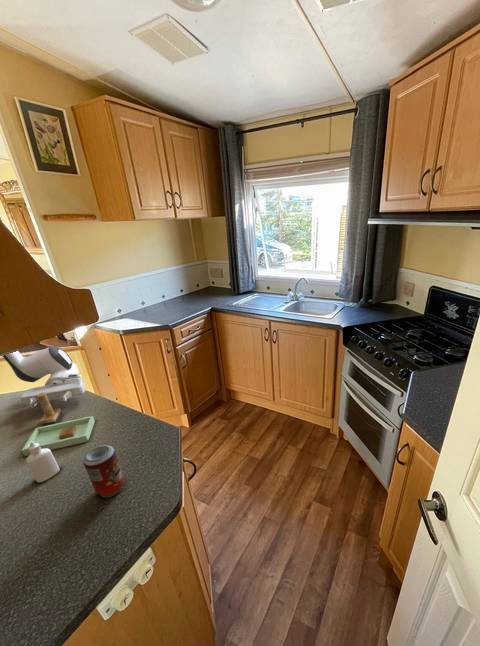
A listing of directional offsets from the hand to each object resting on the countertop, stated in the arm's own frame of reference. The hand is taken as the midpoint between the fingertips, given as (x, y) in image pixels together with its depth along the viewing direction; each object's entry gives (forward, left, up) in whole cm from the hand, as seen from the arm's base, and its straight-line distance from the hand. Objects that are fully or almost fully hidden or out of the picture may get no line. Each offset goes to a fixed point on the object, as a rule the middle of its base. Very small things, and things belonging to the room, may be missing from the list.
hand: (47, 402), depth 105 cm
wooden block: (+8, -14, -6) cm, 18 cm away
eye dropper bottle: (+7, -32, -7) cm, 34 cm away
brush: (0, -2, -7) cm, 7 cm away
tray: (+6, -14, -7) cm, 17 cm away
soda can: (+25, -44, -7) cm, 51 cm away
